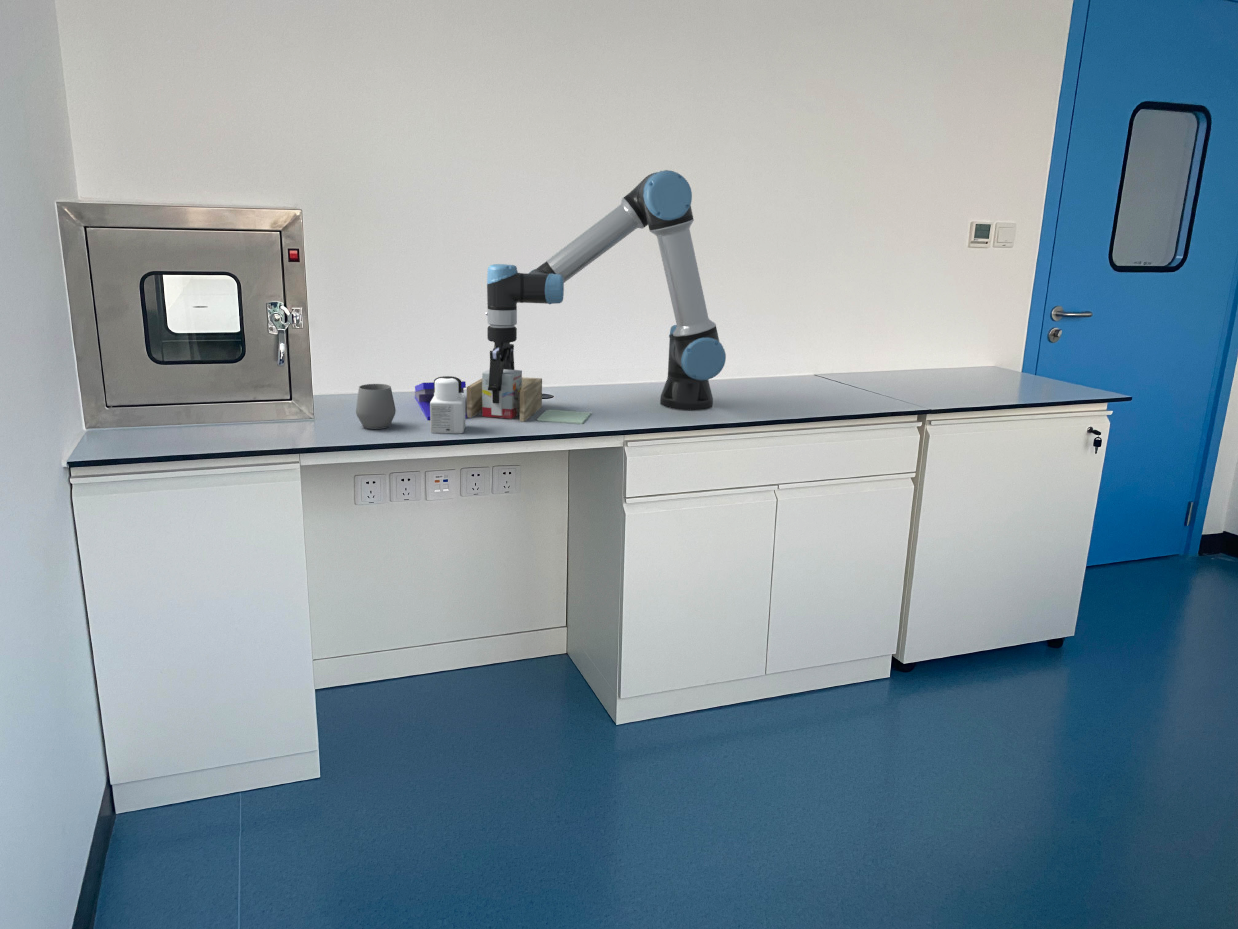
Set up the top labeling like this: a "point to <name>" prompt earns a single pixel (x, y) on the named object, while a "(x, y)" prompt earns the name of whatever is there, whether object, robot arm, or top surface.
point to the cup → (375, 406)
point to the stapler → (428, 396)
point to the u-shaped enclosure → (528, 397)
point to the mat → (564, 416)
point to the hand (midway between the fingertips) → (502, 411)
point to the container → (447, 406)
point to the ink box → (503, 394)
